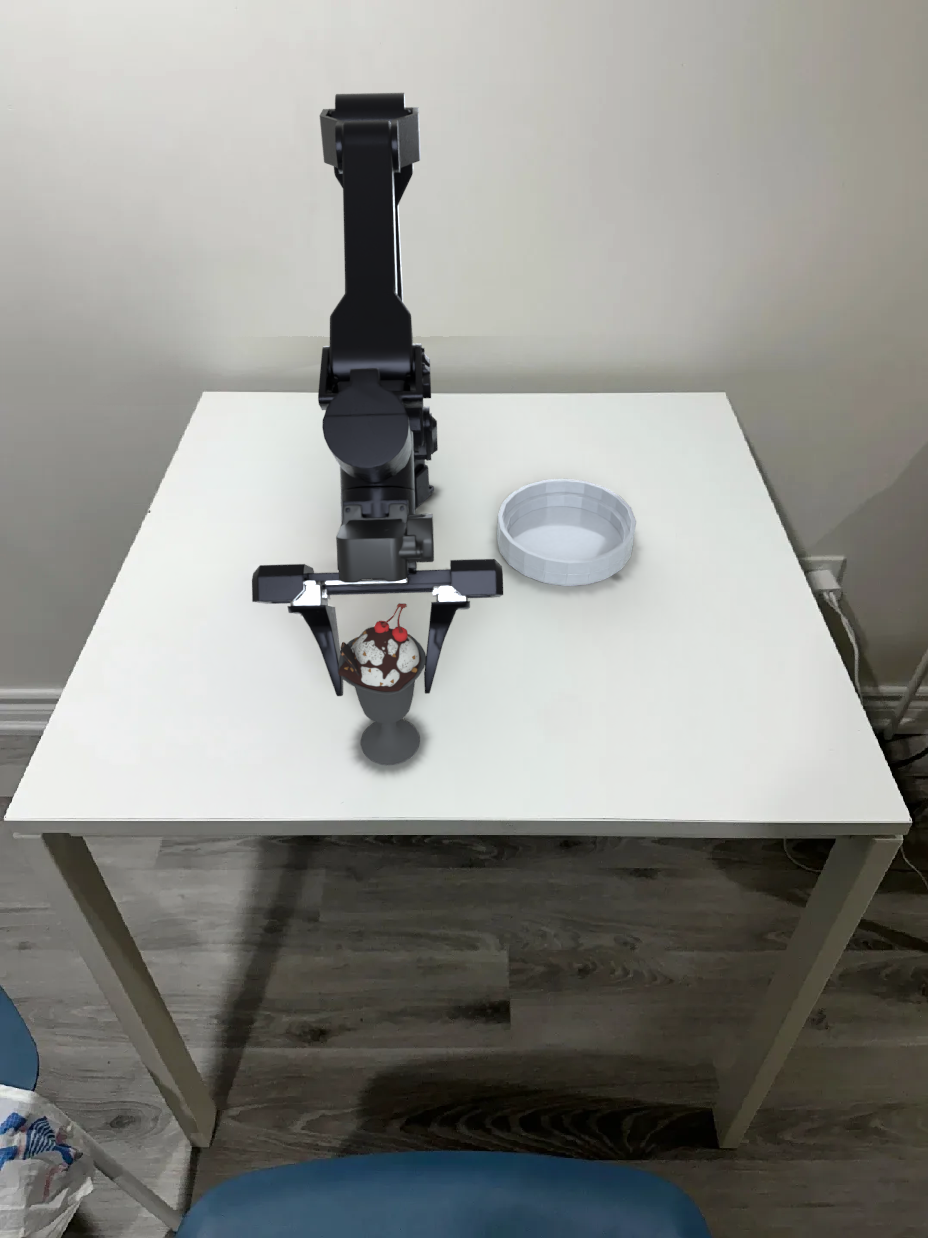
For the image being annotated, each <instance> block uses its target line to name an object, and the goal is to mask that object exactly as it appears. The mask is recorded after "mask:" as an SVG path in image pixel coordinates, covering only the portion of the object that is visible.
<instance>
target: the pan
mask: <svg viewBox="0 0 928 1238" xmlns="http://www.w3.org/2000/svg"><path fill="white" fill-rule="evenodd" d="M636 525H637V519H636V516H635V514H634V511H633V508H632V507H631V506H630V505H629V503H627V501H626V500H625V499H624V498H622V496H620V495H619V494H617V493H616V492H614V491H612V490H611V489H609V488H607V487H605V486H603V485H600V484H597V483H593V482H590V481H586V480H581V479H572V478H552V479H551V478H550V479H543V480H539V481H536V482H531V483H528V484H525V485H523V486H521V487H520V488H518V489H516V490H514V491H512V492H511V493H510V494H509V495H508V496H507V497H506V498H505V499H504V500H503V501H502V502H501V504H500V507H499V511H498V514H497V528H496V529H497V531H496V533H497V534H496V538H497V546H498V551H499V553H500V555H501V556H502V557H503V559H504V560H505V561H506V563H507V564H508V565H509V566H510V567H511V568H513V569H514V570H516V571H517V572H518V573H520V574H521V575H523V576H525V577H528V578H530V579H532V580H535V581H538V582H540V583H544V584H550V585H554V586H555V585H556V586H562V587H563V586H565V587H570V586H571V587H573V586H575V587H576V586H585V585H586V586H587V585H592V584H594V583H598V582H601V581H605V580H607V579H609V578H611V577H612V576H614V575H615V574H616V573H618V572H619V571H621V570H622V569H623V568H624V567H625V566H626V564H627V563H628V562H629V560H630V558H631V556H632V551H633V546H634V541H635V540H634V539H635V533H636Z"/></svg>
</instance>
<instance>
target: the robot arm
mask: <svg viewBox="0 0 928 1238" xmlns="http://www.w3.org/2000/svg"><path fill="white" fill-rule="evenodd" d="M334 95H335V96H334V97H335V99H334V108H323V109H322V110H321V112H320V114H319V124H320V126H319V127H320V136H321V145H322V156H323V163H324V164H326V165H329V166H332V167H333V173H334V177H335V178H336V180H337V182H338V183H339V185H340V186H341V188H342V206H343V207H342V208H343V209H342V210H343V253H344V294H343V296H342V297H341V298H340V300H339V302H338V303H337V305H336V306H335V308H334V309H333V310H332V312H331V313H330V315H329V345H323V346H322V349H321V357H320V358H321V360H320V369H319V381H318V391H317V392H318V393H317V401H318V406H319V407H320V409H321V411H325V412H324V415H323V418H322V434H323V438H324V441H325V443H326V445H327V447H328V449H329V450H330V453H331V454H332V456H333V457H334V459H335V460H336V462H337V464H338V465H339V480H340V521H341V522H340V527H339V528H338V532H337V533H336V535H335V539H336V540H335V542H336V564H337V565H336V567H337V568H336V570H337V572H334V571H333V572H315V570H314V568H313V567H312V566H309V565H308V564H305V563H295V564H294V563H291V564H263V565H262V564H259V566H257V568H256V569H255V570H254V571H253V573H252V577H251V601H252V603H256V604H257V603H258V604H265V605H280V604H289V605H287V612H288V614H293V615H301V617H302V618H303V619H304V621H305V622H306V624H307V626H308V628H309V629H310V632H311V633H312V636H313V637H314V639H315V641H316V643H317V646H318V648H319V650H320V653H321V655H322V658H323V661H324V664H325V667H326V670H327V672H328V676H329V679H330V681H331V684H332V686H333V690H334V693H335V695H336V697H343V696H344V679H343V678H342V677H341V676H339V675H338V671H339V658H340V654H341V653H340V650H341V644H340V635H339V627H338V619H337V611H336V606H333V605H332V606H331V605H329V600H331V596H352V595H353V596H355V595H356V596H357V595H359V596H360V595H387V594H388V595H390V594H391V595H393V594H423V593H425V594H426V593H427V594H429V593H432V597H435V601H430V612H429V623H428V624H429V625H428V635H427V644H426V651H425V654H426V663H425V667H424V670H423V671H424V672H423V684H424V686H423V687H424V694H426V695H427V694H430V693H431V690H432V686H433V684H434V683H433V682H434V679H435V675H436V672H437V671H436V670H437V668H438V665H439V660H440V656H441V653H442V649H443V645H444V642H445V639H446V637H447V635H448V632H449V630H450V627H451V625H452V622H453V620H454V617H455V614H456V612H457V611H459V610H460V611H461V610H469V609H470V608H471V600H469V599H494V598H501V597H502V596H504V571H503V566H502V564H501V563H500V562H498V561H497V559H495V558H474V559H450V560H449V569H447V568H443V569H418V564H417V563H433V562H434V561H435V544H434V543H435V541H434V538H435V537H434V515H433V513H416V509H418V508H419V507H420V506H421V505H422V504H423V503H424V502H426V500H427V499H429V498H430V496H431V495H432V494H433V493H434V492H435V486H434V485H431V484H430V477H429V476H430V474H429V473H430V472H429V466H428V465H427V464H426V461H432V455H434V453H436V452H437V451H438V450H439V449H438V420H437V419H436V418H434V416H433V413H432V412H431V410H430V409H431V408H430V406H424V399H432V383H431V382H432V381H431V380H432V378H431V376H432V375H431V358H430V357H429V356H428V355H427V354H426V352H425V347H423V345H422V343H414V335H413V322H412V321H413V320H412V314H411V312H410V310H409V309H408V308H407V305H405V304H404V292H403V271H402V269H403V268H402V249H401V247H402V246H401V231H400V230H401V228H400V227H401V225H400V205H399V204H400V203H401V199H402V198H403V196H404V195H405V194H404V193H405V192H406V189H407V187H408V185H409V183H410V181H411V179H412V176H413V173H414V164H415V163H418V162H420V161H421V131H420V108H419V107H417V106H416V107H414V106H411V107H410V106H409V107H408V106H407V107H406V97H405V96H406V95H405V92H373V93H372V92H370V93H369V92H368V93H366V92H364V93H335V94H334Z"/></svg>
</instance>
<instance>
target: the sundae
mask: <svg viewBox="0 0 928 1238" xmlns="http://www.w3.org/2000/svg"><path fill="white" fill-rule="evenodd" d="M405 608H407V604H406V603H400V602H399V603H398V604H397V605H396V609H395V611H394V612H393V614H392V615H391V616H390V618H388V619H387V620H386V621H385V620H378V621H376V623H375V624H374V625H373V626H369V627H368V628H366V629H364V631H362V633H361V634H360V635H359V636H356V637H355V638H352V639H351V640H349V641H348V642H347V643H346V642H345V641H341V644H340V653H341V654H340V658H339V671H338V675H339V676H341V677H342V678H343V682H344V681H345V682H346V683H347V684H348V685H350V686H352V687H354V689H355V693H356V697H357V699H358V702H359V705H360V707H361V710H362V712H363V714H364V715H365V717H366V718H368V719H369V720H370V721H372V722H373V723H371V724H369V726H368V727H367V728H366V729H365V730H364V732H363V733H362V735H361V738H360V747H361V751H362V753H363V754H364V756H365V757H367V759H369V760H370V761H372V762H374V763H376V764H379V765H384V766H393V765H398V764H402V763H404V762H406V761H408V760H409V759H410V758H412V757H413V756H414V755H415V754H416V752H417V751H418V749H419V746H420V740H421V739H420V738H421V737H420V734H419V732H418V730H417V728H416V727H415V726H414V725H413V724H411V723H410V722H409V721H406V720H404V718H405V717H406V716H407V715H408V714H409V712H410V709H411V706H412V703H413V698H414V693H415V684H416V681H417V680H418V678H419V676H420V675H421V674H422V672H423V671H424V670H425V663H426V651H425V649H424V648H423V645H421V643H420V642H419V641H418V640H417V639H416V638H415V637H414V636H412V635H411V634H410V633H409V632H408V630H407V629H406V628H405V627H404V626H401V623H400V620H401V619H400V618H401V615H402V611H403V610H404V609H405ZM398 611H399V612H398ZM397 612H398V616H397V620H396V621H397V623H396V624H397V625H396V626H395V627H394V628H390V627H391V626H390V624H389V622H390V621H391V620H393V618H394V617H395V615H396V613H397Z"/></svg>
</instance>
